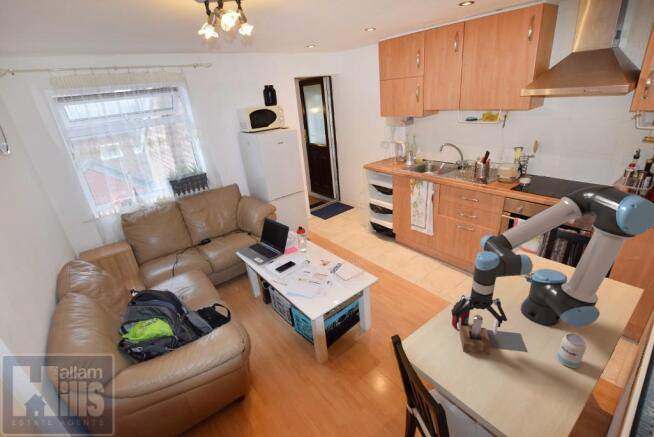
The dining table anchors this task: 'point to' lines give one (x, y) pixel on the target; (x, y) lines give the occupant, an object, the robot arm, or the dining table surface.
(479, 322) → the steel pin
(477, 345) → the walnut socket block
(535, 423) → the dining table surface
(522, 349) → the mat
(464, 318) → the beverage can
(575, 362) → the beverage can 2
